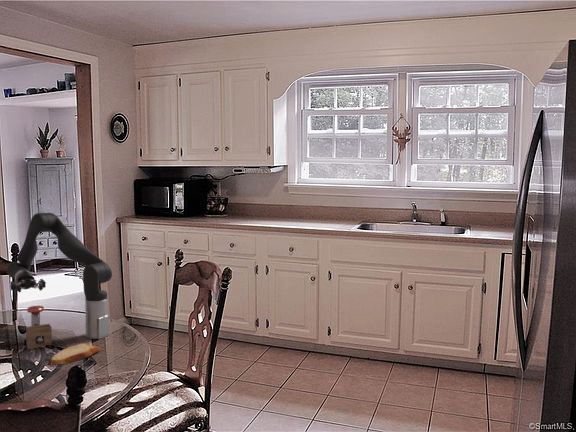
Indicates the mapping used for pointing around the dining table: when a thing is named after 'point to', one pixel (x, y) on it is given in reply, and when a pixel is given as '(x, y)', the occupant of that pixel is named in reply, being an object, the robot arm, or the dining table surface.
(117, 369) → the dining table surface
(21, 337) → the dining table surface
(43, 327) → the brown striped block
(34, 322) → the copper-capped metal peg
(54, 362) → the seeded bread slice
